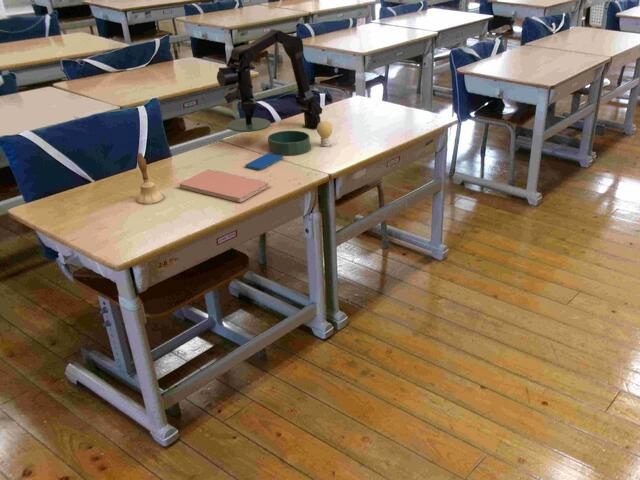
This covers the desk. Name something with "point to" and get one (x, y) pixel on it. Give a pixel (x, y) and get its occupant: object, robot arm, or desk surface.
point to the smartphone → (264, 161)
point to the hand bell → (147, 185)
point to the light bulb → (324, 132)
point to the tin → (289, 143)
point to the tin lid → (248, 124)
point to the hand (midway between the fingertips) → (248, 121)
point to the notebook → (224, 185)
